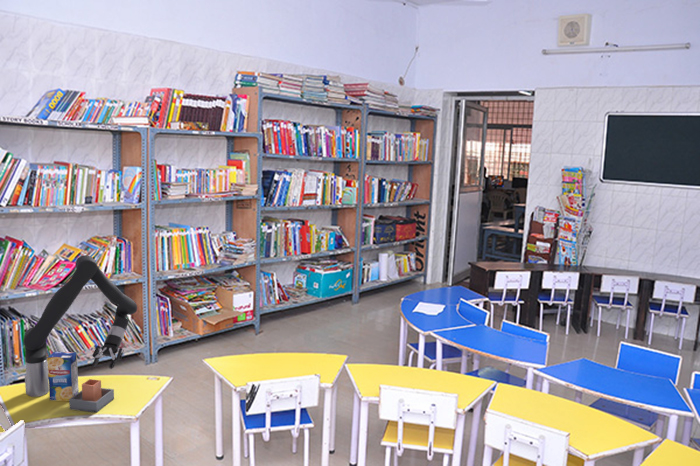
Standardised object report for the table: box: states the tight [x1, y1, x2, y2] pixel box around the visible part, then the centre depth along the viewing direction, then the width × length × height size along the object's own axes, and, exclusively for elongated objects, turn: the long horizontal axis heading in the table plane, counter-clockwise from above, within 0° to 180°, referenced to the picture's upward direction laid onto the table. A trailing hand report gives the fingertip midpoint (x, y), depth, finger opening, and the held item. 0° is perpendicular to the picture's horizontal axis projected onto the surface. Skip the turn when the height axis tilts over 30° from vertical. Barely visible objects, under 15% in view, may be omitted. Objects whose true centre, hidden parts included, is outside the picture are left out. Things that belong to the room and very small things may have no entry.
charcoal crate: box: [68, 387, 115, 414], centre depth 271 cm, size 14×14×5 cm
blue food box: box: [47, 351, 80, 402], centre depth 275 cm, size 7×11×22 cm, turn 92°
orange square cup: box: [81, 378, 102, 402], centre depth 270 cm, size 6×6×10 cm
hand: (102, 367), depth 277 cm, fingers open, 8 cm apart
